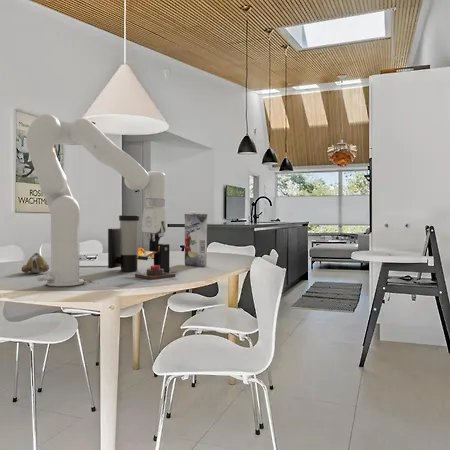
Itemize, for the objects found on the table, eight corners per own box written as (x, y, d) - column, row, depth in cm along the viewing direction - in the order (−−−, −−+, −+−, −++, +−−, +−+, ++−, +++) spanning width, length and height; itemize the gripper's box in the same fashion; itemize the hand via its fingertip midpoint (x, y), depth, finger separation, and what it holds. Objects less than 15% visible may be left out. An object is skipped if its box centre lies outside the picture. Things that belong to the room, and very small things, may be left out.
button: (154, 271, 165) (154, 266, 165) (148, 270, 168) (148, 265, 168) (161, 270, 168) (161, 265, 168) (156, 269, 170) (156, 264, 170)
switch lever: (146, 261, 172) (144, 256, 172) (138, 260, 176) (137, 255, 175) (168, 250, 181) (167, 244, 180) (161, 249, 184) (159, 244, 183)
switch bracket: (157, 276, 175) (157, 245, 175) (146, 274, 181) (146, 244, 180) (176, 274, 182) (177, 244, 182) (165, 272, 188) (165, 243, 187)
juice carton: (196, 264, 220) (197, 211, 219) (209, 266, 211) (209, 211, 211) (182, 265, 214) (182, 211, 213) (194, 267, 206) (194, 210, 205)
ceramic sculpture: (50, 250, 193) (48, 255, 179) (51, 269, 194) (48, 276, 179) (24, 251, 190) (19, 256, 175) (25, 270, 190) (20, 277, 176)
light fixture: (132, 275, 178) (132, 215, 178) (107, 274, 180) (107, 215, 180) (143, 271, 190) (143, 215, 190) (120, 271, 192) (120, 215, 192)
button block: (150, 282, 160) (150, 271, 160) (134, 279, 167) (134, 269, 167) (175, 279, 169) (175, 269, 169) (159, 276, 176) (159, 266, 176)
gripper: (135, 203, 170) (134, 250, 170) (159, 203, 159) (157, 253, 160) (151, 204, 175) (150, 249, 175) (175, 204, 165) (173, 252, 165)
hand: (153, 251), depth 167 cm, fingers closed
